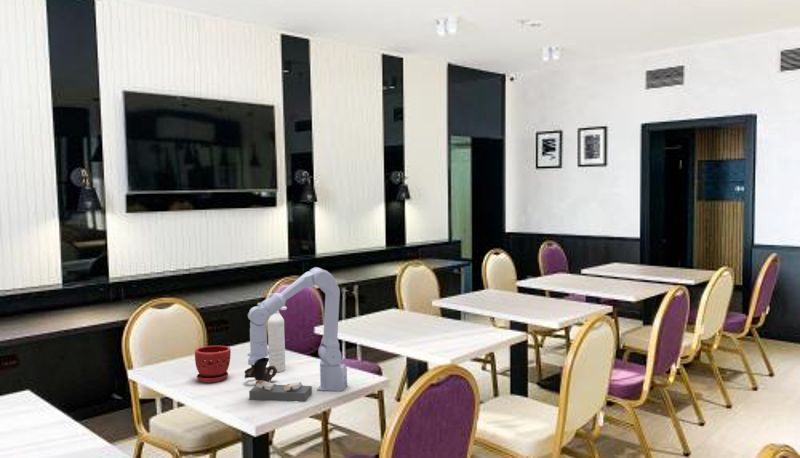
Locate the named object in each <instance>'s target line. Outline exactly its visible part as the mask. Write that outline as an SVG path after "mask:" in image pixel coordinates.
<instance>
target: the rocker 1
mask: <svg viewBox="0 0 800 458" xmlns="http://www.w3.org/2000/svg"><path fill="white" fill-rule="evenodd" d="M274 384H275V383H273V382H271V381H270V382H266V381H262V380H261V381H259V382H258V383H257V387H260V388H262V389H267V390H271V389H272V388H273V387H274Z"/></svg>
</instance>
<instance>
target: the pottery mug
mask: <svg viewBox="0 0 800 458" xmlns="http://www.w3.org/2000/svg"><path fill="white" fill-rule="evenodd" d="M270 370H273V372H271V373H270ZM277 373H278V372H277V369H276V367H274V366H269V365H268V366H266V369H265V374H264V378H263V380H262V381H266V382H270V383H271V381H272V379H273V378H274V377H276V375H277ZM249 378H254V379H255V380H256V377H255V373H254V370H253V368H252V366H251V367H249V368H247V369H245V370H244V379H249ZM259 381H261V380H256V381H255V386H256V385H257V383H258V382H259Z"/></svg>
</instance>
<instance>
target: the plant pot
mask: <svg viewBox="0 0 800 458" xmlns="http://www.w3.org/2000/svg"><path fill="white" fill-rule="evenodd" d="M231 353H232V352H231V348H230V347H229V346H226V345H207V346H202V347H198V348H196V349H195V351H194V361H195V367H196V370H197V372H198V374H196V378H197V380H199V382H202V383H216V382H217V383H218V382H221V381H224V380H225V379H227V378H228V376H229V372H228V370H229V366H230V363H231Z"/></svg>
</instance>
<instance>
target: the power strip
mask: <svg viewBox="0 0 800 458" xmlns="http://www.w3.org/2000/svg"><path fill="white" fill-rule="evenodd" d="M286 385H287V384H275V383H274V387H273V388H272V389H271V390H267V389H262V388H260V387H257V385H256V384H255V386H254V387H252V388H251V389H250V390H249V391H248V396H249V397H248V398H249V400H250V401H272V402H273V401H274V402H275V401H276V402H294V401H298V402H300V403H305V402H307V400H308V399H310V397H311V396H312V395H313V386H312V385H301V386H300V387H299V388H297V389H293V390H286V391H285V389H284V387H285V386H286ZM311 394H312V395H311Z"/></svg>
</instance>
